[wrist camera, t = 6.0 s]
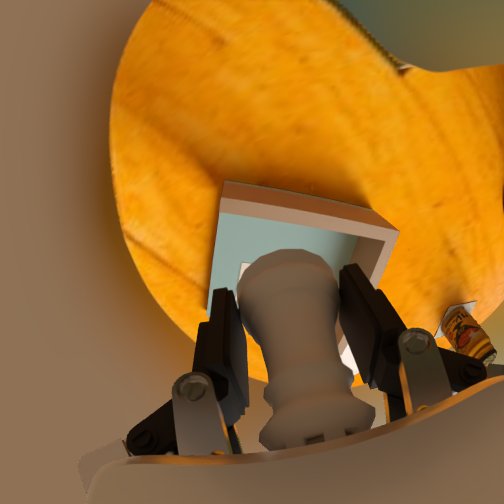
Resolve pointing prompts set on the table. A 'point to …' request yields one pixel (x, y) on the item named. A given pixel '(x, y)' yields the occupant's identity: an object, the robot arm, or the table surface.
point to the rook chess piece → (300, 350)
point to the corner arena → (296, 234)
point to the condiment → (466, 333)
